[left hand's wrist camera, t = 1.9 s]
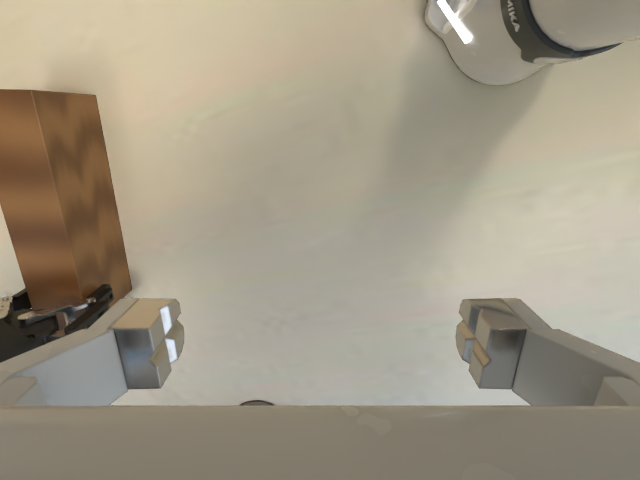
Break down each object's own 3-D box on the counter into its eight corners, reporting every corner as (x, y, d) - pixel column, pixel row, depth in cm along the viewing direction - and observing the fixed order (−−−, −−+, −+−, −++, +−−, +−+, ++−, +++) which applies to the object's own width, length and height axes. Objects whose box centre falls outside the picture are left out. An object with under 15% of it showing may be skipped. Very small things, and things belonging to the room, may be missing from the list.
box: (44, 94, 43) (-36, 88, 33) (95, 95, 43) (31, 89, 33) (89, 288, 52) (37, 328, 42) (132, 289, 52) (89, 329, 42)
